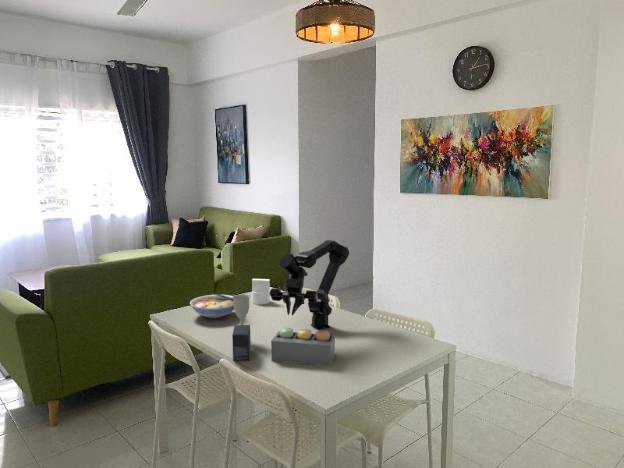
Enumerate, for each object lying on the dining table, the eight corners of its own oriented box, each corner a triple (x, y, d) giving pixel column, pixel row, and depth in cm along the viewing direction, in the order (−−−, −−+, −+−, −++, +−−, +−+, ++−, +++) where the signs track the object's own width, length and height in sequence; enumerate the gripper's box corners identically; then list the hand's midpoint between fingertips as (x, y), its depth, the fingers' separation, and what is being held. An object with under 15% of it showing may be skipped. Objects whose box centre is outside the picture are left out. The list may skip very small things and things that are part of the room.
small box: (234, 350, 187) (233, 324, 185) (251, 349, 188) (250, 324, 186) (232, 361, 177) (231, 334, 175) (250, 361, 177) (249, 333, 176)
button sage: (281, 334, 186) (281, 327, 185) (294, 335, 184) (294, 328, 184) (277, 339, 180) (277, 332, 180) (291, 340, 179) (291, 333, 179)
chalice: (236, 343, 194) (235, 300, 191) (231, 337, 200) (230, 295, 197) (253, 340, 198) (252, 297, 195) (247, 334, 203) (247, 293, 201)
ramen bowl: (180, 315, 229) (179, 298, 228) (221, 305, 245) (221, 289, 243) (207, 328, 211) (206, 310, 210) (250, 317, 226) (250, 300, 225)
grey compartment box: (279, 349, 188) (278, 331, 187) (334, 354, 184) (334, 335, 182) (271, 360, 178) (271, 340, 177) (330, 365, 173) (330, 345, 172)
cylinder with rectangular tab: (250, 304, 247) (249, 281, 245) (255, 299, 256) (254, 277, 254) (267, 305, 246) (267, 282, 244) (271, 300, 254) (271, 277, 253)
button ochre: (299, 336, 184) (299, 328, 184) (312, 337, 183) (312, 329, 183) (296, 341, 179) (296, 333, 179) (309, 342, 178) (309, 334, 178)
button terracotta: (317, 337, 183) (317, 329, 182) (330, 338, 182) (330, 330, 181) (314, 342, 178) (314, 334, 177) (328, 343, 177) (328, 335, 176)
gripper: (270, 268, 192) (262, 303, 183) (316, 270, 188) (310, 306, 179) (276, 283, 201) (268, 316, 192) (320, 285, 197) (314, 320, 188)
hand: (290, 314), depth 187 cm, fingers closed
